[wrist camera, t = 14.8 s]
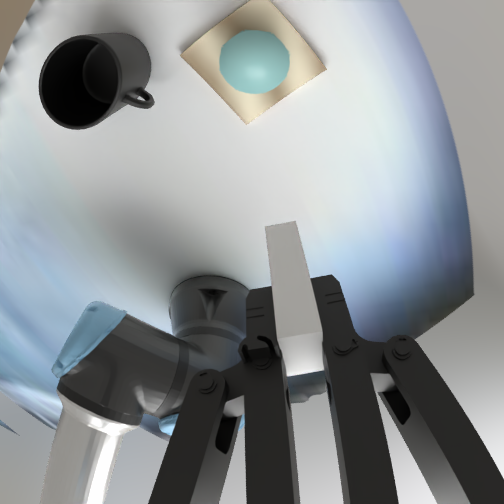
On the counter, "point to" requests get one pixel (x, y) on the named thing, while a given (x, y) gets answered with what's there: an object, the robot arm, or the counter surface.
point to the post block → (263, 19)
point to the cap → (254, 61)
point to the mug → (94, 78)
